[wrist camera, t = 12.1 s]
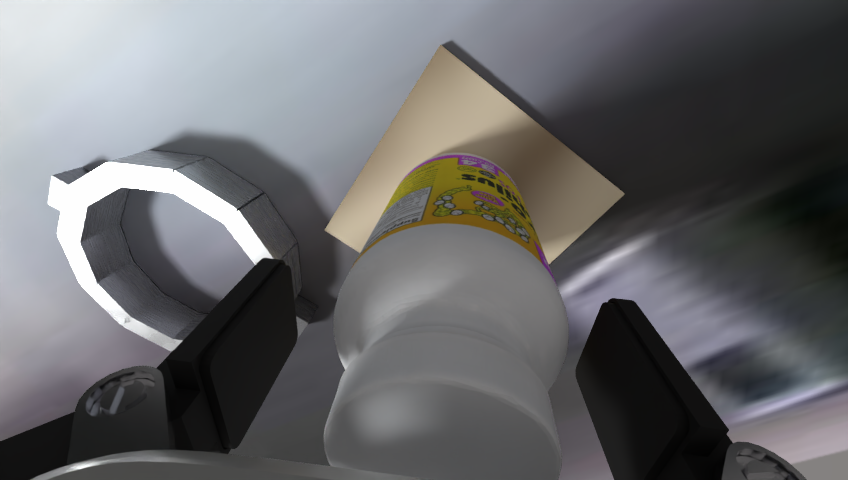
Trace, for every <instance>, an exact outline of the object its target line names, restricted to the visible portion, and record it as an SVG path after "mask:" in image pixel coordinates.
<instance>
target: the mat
mask: <svg viewBox="0 0 848 480" xmlns="http://www.w3.org/2000/svg"><path fill="white" fill-rule="evenodd" d="M446 153H469V154H474V155H477V156H481V157H483V158H486V159H488V160H490V161H492V162H494V163H495V164H497V165H498V166H499V167H501V168H502V169H503V170H504V171H505V172H506V173H507V174H508V175H509V176H510V177H511V178H512V180H513V181H514V182H515V184H516V186H517V188H518V189H519V191H520V194H521V196H522V198H523V201H524V203H525V206H526V208H527V211H528V213H529V216H530V218H531V221H532V224H533V226H534V229H535V231H536V233H537V236H538V239H539V241H540V244H541V246H542V249H543V252H544V254H545V257H546V260H547V262H548V265H549V264H550V263H551V262H552V261H553V260H554V259H555V258H556V257H558V256H559V255H560V254H561V253H562V252H563V251H564V250H565V249H566V248H567V247H568V246H569V245H570V244H572V243H573V242H574V241H575V240H576V239H577V238H578V237H579V236H580V235H581V234H582V233H583V232H585V231H586V230H587V229H588V228H589V227H590V226H591V225H592V224H593V223H594V222H595V221H596V220H597V219H599V218H600V217H601V216H602V215H603V214H604V213H605V212H606V211H607V210H608V209H609V208H610V207H612V206H613V205H614V204H615V203H616V202H617V201H618V200H619V199H620V198H621V197H622V196H623V195H624V194H625V193H623V192H622V191H621V190H620V189H619V188H617V187H616V186H615V185H614V184H612V183H611V182H610V181H609V180H607V179H606V178H605V177H604V176H602V175H601V174H600V173H599V172H598V171H596V170H595V169H594V168H593V167H591V166H590V165H589V164H588V163H586V162H585V161H584V160H583V159H581V158H580V157H579V156H578V155H576V154H575V153H574V152H573V151H572V150H570V149H569V148H568V147H567V146H565V145H564V144H563V143H562V142H560V141H559V140H558V139H557V138H555V137H554V136H553V135H552V134H551V133H549V132H548V131H547V130H546V129H544V128H543V127H542V126H541V125H539V124H538V123H537V122H536V121H534V120H533V119H532V118H531V117H530V116H528V115H527V114H526V113H525V112H523V111H522V110H521V109H520V108H518V107H517V106H516V105H515V104H513V103H512V102H511V101H510V100H508V99H507V98H506V97H505V96H504V95H502V94H501V93H500V92H499V91H497V90H496V89H495V88H494V87H492V86H491V85H490V84H489V83H487V82H486V81H485V80H484V79H483V78H481V77H480V76H479V75H478V74H476V73H475V72H474V71H473V70H471V69H470V68H469V67H468V66H466V65H465V64H464V63H463V62H461V61H460V60H459V59H458V58H457V57H455V56H454V55H453V54H452V53H450V52H449V51H448V50H447V49H445V48H444V47H443V46H442V45H440V46H439V48H438V49H437V51H436V53H435V54H434V56H433V57H432V59H431V61H430V62H429V64H428V65H427V67H426V69H425V70H424V72H423V73H422V75H421V77H420V78H419V80H418V81H417V83H416V85H415V86H414V88H413V89H412V91H411V93H410V94H409V96H408V97H407V99H406V101H405V102H404V104H403V105H402V107H401V109H400V110H399V112H398V113H397V115H396V117H395V118H394V120H393V121H392V123H391V125H390V126H389V128H388V129H387V131H386V133H385V134H384V136H383V137H382V139H381V141H380V142H379V144H378V145H377V147H376V149H375V150H374V152H373V153H372V155H371V156H370V158H369V160H368V161H367V163H366V164H365V166H364V168H363V169H362V171H361V172H360V174H359V176H358V177H357V179H356V180H355V182H354V184H353V185H352V187H351V188H350V190H349V192H348V193H347V195H346V196H345V198H344V200H343V201H342V203H341V204H340V206H339V208H338V209H337V211H336V212H335V214H334V216H333V217H332V219H331V220H330V222H329V224H328V225H327V227H326V228H325V231H326V232H328V233H330V234H331V235H333V236H334V237H336V238H337V239H339V240H341V241H342V242H344V243H345V244H347V245H348V246H350V247H351V248H353V249H355V250H356V251H358V252H359V253H360V252H361V251H362V249H363V247H364V245H365V244H366V242H367V240H368V238H369V237H370V235H371V233H372V231H373V229H374V228H375V226H376V224H377V222H378V221H379V219H380V217H381V215H382V213H383V212H384V210H385V208H386V206H387V205H388V203H389V201H390V199H391V197H392V196H393V194H394V192H395V190H396V189H397V187H398V185H399V184H400V182H401V181H402V180H403V179H404V177H405V176H406V175H407V174H408V173H409V172H410V171H411V170H412V169H413V168H415V167H416V166H417V165H419V164H420V163H422V162H423V161H425V160H427V159H429V158H432V157H434V156H438V155H441V154H446Z"/></svg>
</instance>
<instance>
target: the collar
mask: <svg viewBox="0 0 848 480" xmlns="http://www.w3.org/2000/svg"><path fill="white" fill-rule="evenodd" d="M132 188H137V189H145V190H153V191H161V192H169V193H174V194H176V195H177V196H179V197H181V198H182V199H184V200H186V201H187V202H189V203H191V204H192V205H194V206H196V207H197V208H199V209H201V210H202V211H204V212H206V213H207V214H209V215H211V216H212V217H214V218H215V219H217V220H219V221H220V222H222V223H224V224H225V226H226V227H227V228H228V230H229V231H230V232H231V234H232V235H233V236H234V238H235V239H236V240H237V242H238V243H239V244H240V245H241V247H242V248H243V249H244V251H245V252H246V253H247V255H248V256H249V257H250V259H251V260H252V261H253V263H254V264H255V265H256V264H257V263H258V262H259V261H260V260H261V259H262V258H271V259H280V260H283V261H284V262H285V264H286V265H289V266H290V268H291V275H292V284H293V293H294V302H295V310H296V319H297V328H298V337H299V336H300V334H301V333H302V331H303V330H304V329H305V327H306V326H307V324H308V323H309V321H310V320H311V318H312V316H313V315H314V313H315V311H316V310H317V308H318V306H316V305H314V304H313V303H311V302H309V301H308V300H306V299H304V298H302V297H301V296H299V295H298V294H299V292H300V291H301V288H302V282H301V271H300V260H299V250H298V243H296V242H297V240H296V239H295V237H294V236H293V234H292V233H291V231H290V230H289V228H288V227H287V225H286V224H285V222H284V221H283V219H282V218H281V217H280V215H279V214H278V212H277V211H276V209H275V208H274V206H273V205H272V203H271V202H270V200H269V199H268V197H267V196H266V194H262V193H263V191H261V190H260V189H258V188H256V187H255V186H253V185H252V184H250V183H249V182H247V181H245V180H244V179H242V178H241V177H239V176H238V175H236V174H235V173H233V172H231V171H230V170H228V169H227V168H225V167H224V166H222V165H220V164H219V163H217V162H216V161H214V160H213V159H211V158H207V157H206V156H198V155H189V154H181V153H172V152H164V151H155V150H148V151H144V152H141V153H137V154H134V155H130V156H127V157H123V158H120V159H116V160H113V161H109V162H106V163H104V164H103V165H101V166H99V167H98V168H96V169H95V170H93V171H91V172H89V171H87V170H85V169H83V168H82V167H80V168H77V169H73V170H70V171H66V172H63V173H59V174H55V175H52V177H51V184H50V191H49V198H48V204H49V205H51V206H52V207H54V208H56V209H58V210H60V211H61V213H60V219H59V225H58V231H57V234H58V238H59V240H60V242H61V245H62V247H63V249H64V251H65V253H66V256H67V258H68V260H69V262H70V264H71V267H72V269H73V271H74V273H75V275H76V278H77V280H78V282H79V284H82V285H81V286H82V287H83V288H84V289H85V290H86V291H87V292H88V293H89V294H90V295H91V296H92V297H93V298H94V299H95V300H96V301H97V302H98V303H99V304H100V305H101V306H102V307H103V308H104V309H105V310H106V311H107V312H108V313H109V314H110V315H111V316H112V317H113V318H114V319H115V320H116V321H117V322H118V323H119V324H120V325H123V324H124V325H123V327H125V328H127V329H129V330H130V331H132V332H134V333H136V334H138V335H140V336H142V337H144V338H146V339H148V340H150V341H152V342H154V343H156V344H158V345H160V346H161V347H163V348H165V349H167V350H169V351H171V352H172V351H173V350H174V349H175V348H176V347H177V346H178V345H179V344H180V343H181V342H182V341H183V340H184V339H185V338H186V337H187V336H188V335H189V334H190V333H191V332H192V331H193V330H194V329H195V327H196V326H197V325H198V324H199V323H200V322H201V321H202V320H203V319H204V318H205V317H206V316H207V315H208V314H202V313H198V312H196V311H195V310H193V309H191V308H189V307H187V306H185V305H184V304H182V303H180V302H178V301H176V300H174V299H173V298H171V297H169V296H167V295H165V294H163V293H162V292H161V291H160V290H159V289H158V288H157V286H156V285H155V284H154V283H153V282H152V281H151V280H150V279H149V278H148V277H147V276H146V274H145V273H144V272H143V271H142V270H141V269H140V268H139V267H138V266H137V265H136V264H135V262H134V261H133V259H132V256H131V253H130V251H129V248H128V245H127V242H126V239H125V237H124V234H123V231H122V228H121V225H120V221H121V218H122V214H123V210H124V206H125V203H126V199H127V195H128V191H129V190H130V189H132ZM298 337H297V338H298Z"/></svg>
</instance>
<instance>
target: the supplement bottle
mask: <svg viewBox="0 0 848 480" xmlns="http://www.w3.org/2000/svg"><path fill="white" fill-rule="evenodd" d="M333 326H334V337H335V343H336V347H337V351H338V354H339V357H340V359H341V362H342V364H343V366H344V368H345V372H344V373H343V375H342V377H341V380H340V383H339V386H338V390H337V393H336V396H335V399H334V402H333V405H332V407H331V410H330V413H329V416H328V419H327V422H326V426H325V430H324V447H325V453H326V456H327V459H328V461H329V463H330V465H331V466H332V467H339V468H347V469H355V470H363V471H371V472H378V473H386V474H393V475H401V476H408V477H416V478H423V479H431V480H558V478H559V475H560V472H561V466H562V453H561V446H560V441H559V437H558V433H557V429H556V425H555V420H554V416H553V411H552V406H551V401H550V398H549V395H548V392H547V391H548V390H549V389H550V387H551V386H552V385H553V384H554V382H555V380H556V379H557V377H558V375H559V373H560V371H561V369H562V366H563V364H564V361H565V358H566V354H567V350H568V343H569V326H568V318H567V313H566V309H565V306H564V303H563V300H562V297H561V295H560V292H559V290H558V287H557V285H556V282H555V280H554V277H553V275H552V272H551V270H550V267H549V265H548V262H547V260H546V257H545V254H544V252H543V249H542V246H541V244H540V241H539V239H538V236H537V233H536V231H535V229H534V226H533V224H532V221H531V218H530V216H529V213H528V211H527V208H526V206H525V203H524V201H523V198H522V196H521V194H520V191H519V189H518V188H517V186H516V184H515V182H514V181H513V180H512V178H511V177H510V176H509V175H508V174H507V173H506V172H505V171H504V170H503V169H502V168H501V167H499V166H498V165H497V164H495V163H494V162H492V161H490V160H488V159H486V158H483V157H481V156H477V155H474V154H469V153H446V154H441V155H438V156H434V157H432V158H429V159H427V160H425V161H423V162H422V163H420V164H419V165H417V166H416V167H415V168H413V169H412V170H411V171H410V172H409V173H408V174H407V175H406V176H405V177H404V179H403V180H402V181H401V182H400V184H399V185H398V187H397V189H396V190H395V192H394V194H393V196H392V197H391V199H390V201H389V203H388V205H387V206H386V208H385V210H384V212H383V213H382V215H381V217H380V219H379V221H378V222H377V224H376V226H375V228H374V229H373V231H372V233H371V235H370V237H369V238H368V240H367V242H366V244H365V245H364V247H363V249H362V251H361V252H360V254H359V256H358V258H357V259H356V261H355V263H354V264H353V266H352V268H351V270H350V272H349V274H348V275H347V278H346V280H345V282H344V283H343V285H342V288H341V290H340V292H339V295H338V299H337V302H336V306H335V311H334V325H333Z"/></svg>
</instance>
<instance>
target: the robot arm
mask: <svg viewBox="0 0 848 480" xmlns="http://www.w3.org/2000/svg"><path fill="white" fill-rule="evenodd" d="M297 337H298V328H297V319H296V310H295V302H294V293H293V284H292V275H291V268H290V266H289V265H286V264H285V262H284V261H283V260H280V259H271V258H262V259H261V260H260V261H259V262H258V263H257V264H256V265H255V266H254V267H253V268H252V269H251V270H250V271H249V272H248V273H247V274H246V275H245V277H244V278H243V279H242V280H241V281H240V282H239V283H238V284H237V285H236V286H235V287H234V288H233V289H232V290H231V291H230V292H229V293H228V294H227V295H226V296H225V297H224V298H223V299H222V300H221V301H220V303H219V304H218V305H217V306H216V307H215V308H214V309H213V310H212V311H211V312H210V313H209V314H208V315H207V316H206V317H205V318H204V319H203V320H202V321H201V322H200V323H199V324H198V325H197V326H196V327H195V329H194V330H193V331H192V332H191V333H190V334H189V335H188V336H187V337H186V338H185V339H184V340H183V341H182V342H181V343H180V344H179V345H178V346H177V347H176V348H175V349H174V350H173V351H172V352H171V353H170V355H169V356H168V357H167V358H166V359H165V360H164V361H163V362H162V363H161V364H160V365H159V366H158V367H157V368H155V367H150V366H133V367H129V368H125V369H121V370H119V371H117V372H114V373H112V374H109V375H108V376H106V377H104V378H102V379H101V380H99V381H97V382H96V383H95V384H94V385H92V386H91V387H90V388H89V389H87V390H86V391H85V393H84V394H83V395H82V396H81V398H80V399H79V400H78V403H77V405H76V408H75V412H73V413H70V414H68V415H65V416H63V417H60V418H58V419H55V420H53V421H50V422H48V423H45V424H43V425H40V426H38V427H35V428H33V429H30V430H28V431H25V432H23V433H20V434H18V435H15V436H13V437H10V438H8V439H5V440H3V441H0V480H431V479H423V478H416V477H408V476H401V475H393V474H386V473H378V472H371V471H363V470H355V469H347V468H339V467H332V466H324V465H316V464H308V463H300V462H293V461H285V460H277V459H269V458H260V457H251V456H241V455H232V454H228V453H229V451H230V450H231V449H235V448H237V447H238V446H239V444H240V443H241V441H242V439H243V437H244V436H245V434H246V432H247V430H248V429H249V427H250V425H251V423H252V421H253V420H254V418H255V416H256V414H257V412H258V411H259V409H260V407H261V405H262V403H263V402H264V400H265V398H266V396H267V394H268V393H269V391H270V389H271V387H272V385H273V384H274V382H275V380H276V378H277V376H278V375H279V373H280V371H281V369H282V368H283V366H284V364H285V362H286V360H287V359H288V357H289V355H290V353H291V351H292V350H293V348H294V346H295V344H296V341H297ZM576 379H577V382H578V384H579V387H580V390H581V392H582V395H583V398H584V400H585V403H586V406H587V408H588V411H589V414H590V416H591V419H592V422H593V424H594V427H595V430H596V432H597V435H598V438H599V440H600V443H601V446H602V448H603V451H604V454H605V456H606V459H607V462H608V464H609V467H610V469H611V472H612V475H613V477H614V480H806V479H805V477H804V476H803V475H802V474H801V473H800V472H799V471H797V470H796V469H795V468H794V467H793V466H792V465H791V464H789V463H788V462H787V461H786V460H784V459H782V458H781V457H779V456H778V455H776V454H775V453H773V452H771V451H769V450H767V449H765V448H763V447H761V446H759V445H755V444H752V443H749V442H735V443H732V441H731V440H730V438H729V437H728V436H727V432H728V431H729V429H728V428H727V427H726V425H725V424H724V422H723V421H722V420H721V418H720V417H719V416H718V414H717V413H716V412H715V410H714V409H713V407H712V406H711V405H710V403H709V402H708V401H707V399H706V398H705V397H704V395H703V394H702V392H701V391H700V390H699V388H698V387H697V386H696V384H695V383H694V382H693V380H692V379H691V377H690V376H689V375H688V373H687V372H686V371H685V369H684V368H683V367H682V365H681V364H680V362H679V361H678V360H677V358H676V357H675V356H674V354H673V353H672V352H671V350H670V349H669V347H668V346H667V345H666V343H665V342H664V341H663V339H662V338H661V337H660V335H659V334H658V332H657V331H656V330H655V328H654V327H653V326H652V324H651V323H650V322H649V320H648V319H647V317H646V316H645V315H644V313H643V312H642V311H641V309H640V308H639V307H638V305H637V304H636V303H635V302H634V301H632V300H624V299H615V298H612V299H610V300H609V301H608V302H605V303H603V304H602V306H601V308H600V310H599V313H598V315H597V317H596V320H595V322H594V325H593V327H592V330H591V332H590V335H589V337H588V339H587V342H586V344H585V347H584V349H583V352H582V354H581V357H580V359H579V361H578V364H577V367H576Z"/></svg>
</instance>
